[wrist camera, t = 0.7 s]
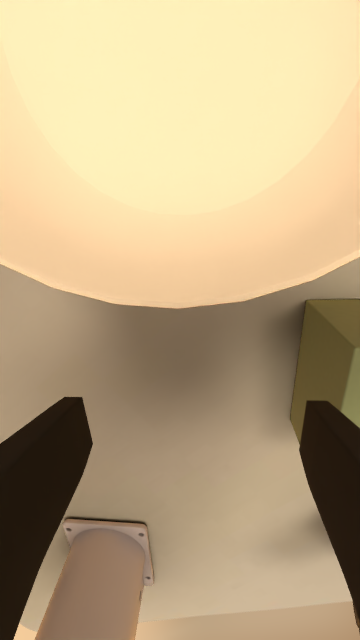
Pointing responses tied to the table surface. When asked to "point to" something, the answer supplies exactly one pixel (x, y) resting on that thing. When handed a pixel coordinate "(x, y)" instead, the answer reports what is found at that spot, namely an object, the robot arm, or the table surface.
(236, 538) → the table surface
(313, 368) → the tissue box
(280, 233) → the bowl
